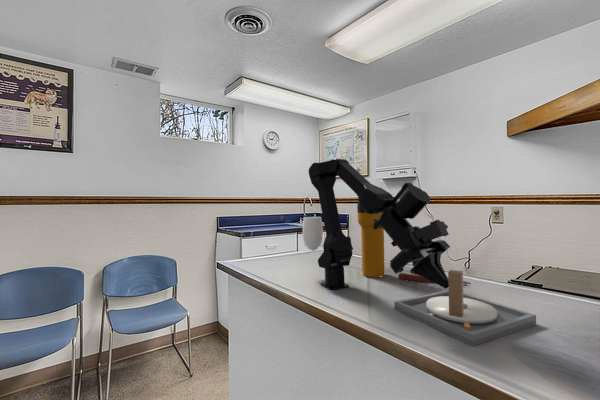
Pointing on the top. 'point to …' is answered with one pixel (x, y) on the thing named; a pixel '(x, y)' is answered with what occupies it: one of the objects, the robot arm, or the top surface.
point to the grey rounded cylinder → (312, 232)
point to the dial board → (466, 332)
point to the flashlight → (371, 244)
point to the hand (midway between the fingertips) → (448, 287)
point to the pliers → (420, 278)
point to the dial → (460, 304)
